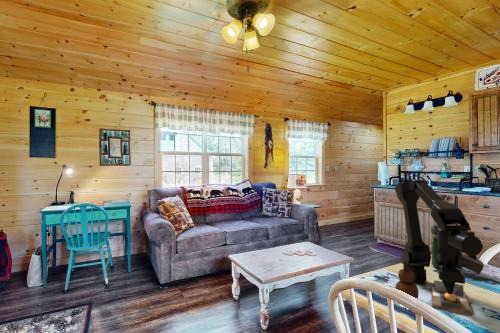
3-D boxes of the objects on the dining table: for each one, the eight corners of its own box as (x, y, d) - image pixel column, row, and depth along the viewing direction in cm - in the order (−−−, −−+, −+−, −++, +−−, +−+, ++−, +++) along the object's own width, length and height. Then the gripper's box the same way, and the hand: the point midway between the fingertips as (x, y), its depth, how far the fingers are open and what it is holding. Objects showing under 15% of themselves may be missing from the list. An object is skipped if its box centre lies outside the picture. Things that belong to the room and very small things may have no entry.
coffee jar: (455, 272, 114) (453, 228, 114) (433, 269, 118) (431, 227, 118) (451, 264, 123) (450, 224, 123) (431, 262, 127) (429, 222, 127)
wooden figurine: (408, 310, 86) (406, 263, 86) (392, 302, 91) (391, 258, 91) (422, 305, 89) (420, 260, 89) (406, 297, 94) (404, 255, 94)
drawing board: (432, 307, 87) (432, 299, 87) (430, 288, 100) (430, 282, 100) (471, 315, 82) (471, 307, 82) (465, 294, 95) (464, 287, 95)
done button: (444, 300, 87) (444, 295, 87) (444, 296, 89) (444, 291, 89) (456, 302, 85) (456, 297, 85) (455, 298, 88) (455, 294, 88)
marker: (431, 291, 96) (431, 281, 96) (431, 287, 99) (430, 278, 99) (463, 297, 91) (463, 287, 91) (462, 293, 94) (462, 283, 94)
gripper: (487, 258, 75) (488, 314, 75) (475, 241, 91) (477, 287, 91) (438, 252, 81) (440, 304, 81) (435, 237, 97) (437, 281, 97)
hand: (450, 293), depth 87 cm, fingers closed
